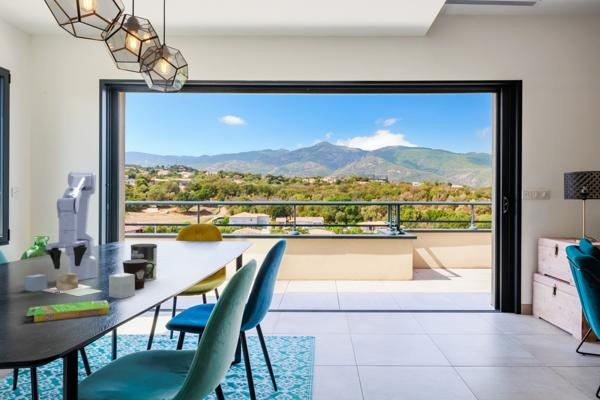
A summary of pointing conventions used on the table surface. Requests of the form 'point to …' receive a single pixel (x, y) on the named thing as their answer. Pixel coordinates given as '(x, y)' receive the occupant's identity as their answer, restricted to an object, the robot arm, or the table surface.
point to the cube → (35, 282)
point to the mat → (83, 292)
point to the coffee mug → (137, 271)
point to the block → (67, 281)
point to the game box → (69, 310)
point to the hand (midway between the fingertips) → (67, 267)
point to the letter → (66, 290)
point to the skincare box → (121, 285)
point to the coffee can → (146, 257)
